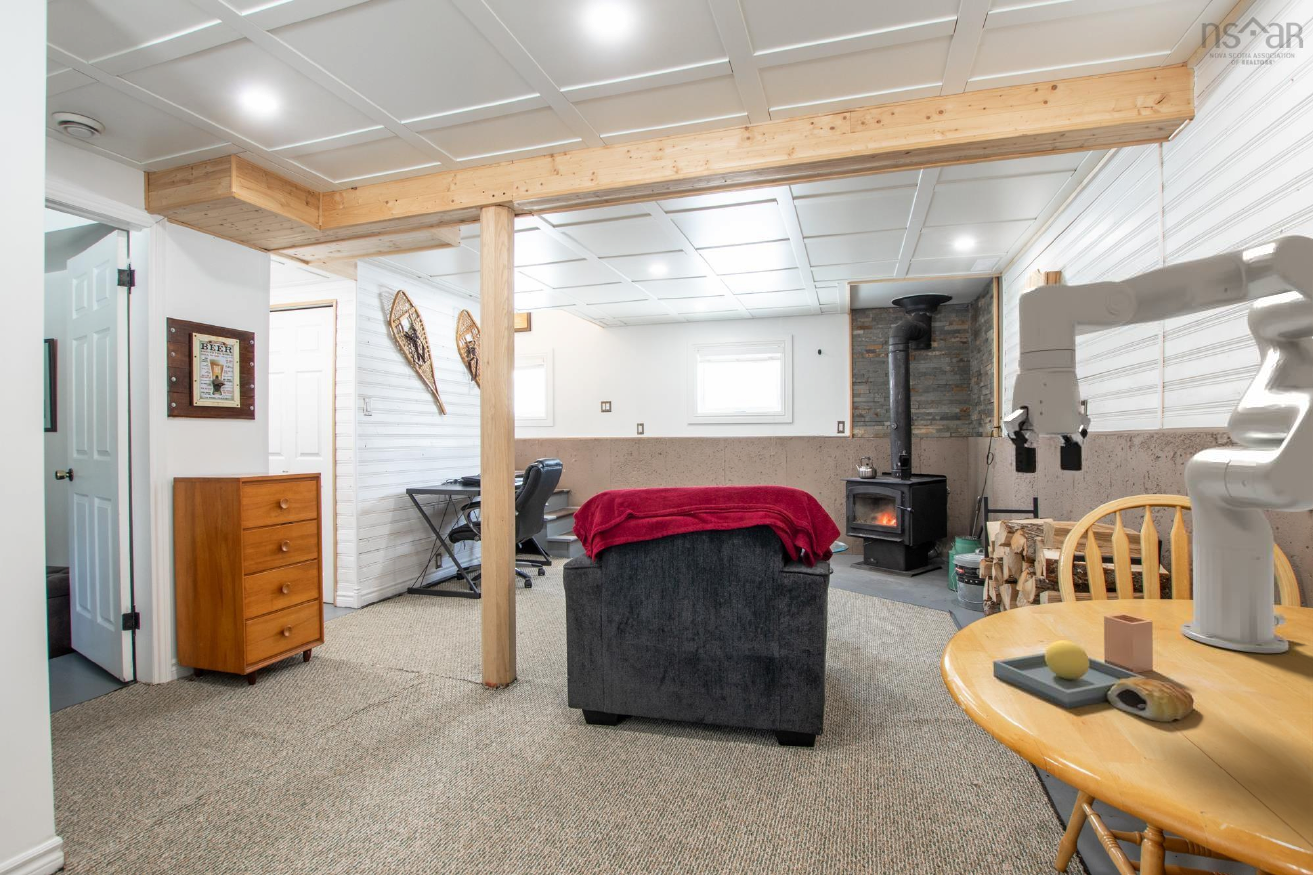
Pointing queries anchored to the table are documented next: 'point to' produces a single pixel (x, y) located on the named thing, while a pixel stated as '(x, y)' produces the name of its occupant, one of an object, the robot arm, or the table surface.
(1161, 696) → the pastry
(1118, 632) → the open box
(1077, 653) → the ball
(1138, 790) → the table surface
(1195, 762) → the table surface
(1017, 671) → the tray
